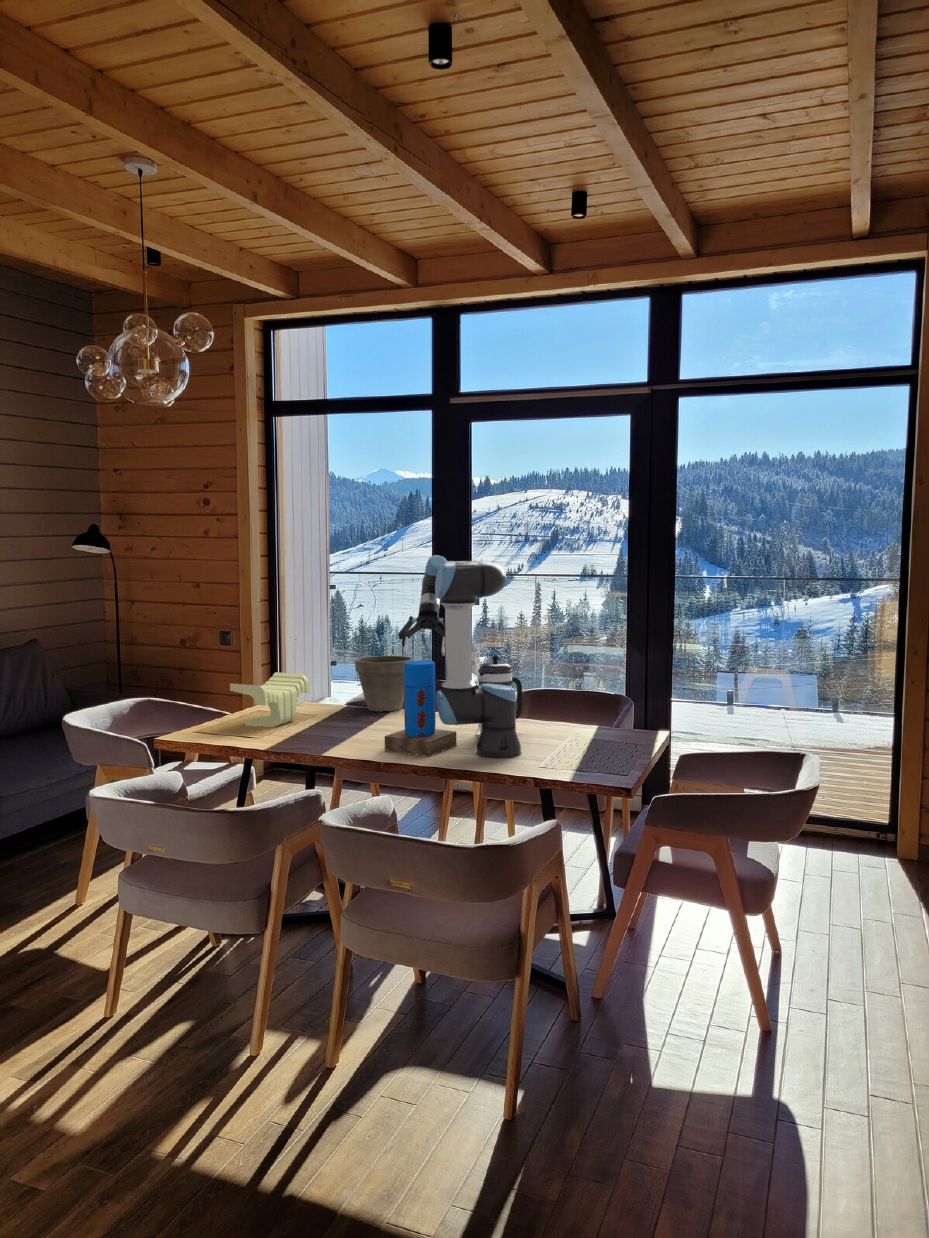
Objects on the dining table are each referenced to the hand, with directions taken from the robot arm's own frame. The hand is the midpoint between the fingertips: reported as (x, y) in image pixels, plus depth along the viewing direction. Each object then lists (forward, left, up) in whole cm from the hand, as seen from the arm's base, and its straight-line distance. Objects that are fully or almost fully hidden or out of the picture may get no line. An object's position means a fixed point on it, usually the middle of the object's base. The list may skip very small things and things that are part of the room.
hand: (424, 653), depth 327 cm
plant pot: (+47, -41, -32) cm, 70 cm away
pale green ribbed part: (+69, +5, -32) cm, 77 cm away
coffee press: (-20, -19, -32) cm, 42 cm away
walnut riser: (-6, +11, -31) cm, 34 cm away
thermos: (-5, +11, -27) cm, 29 cm away
